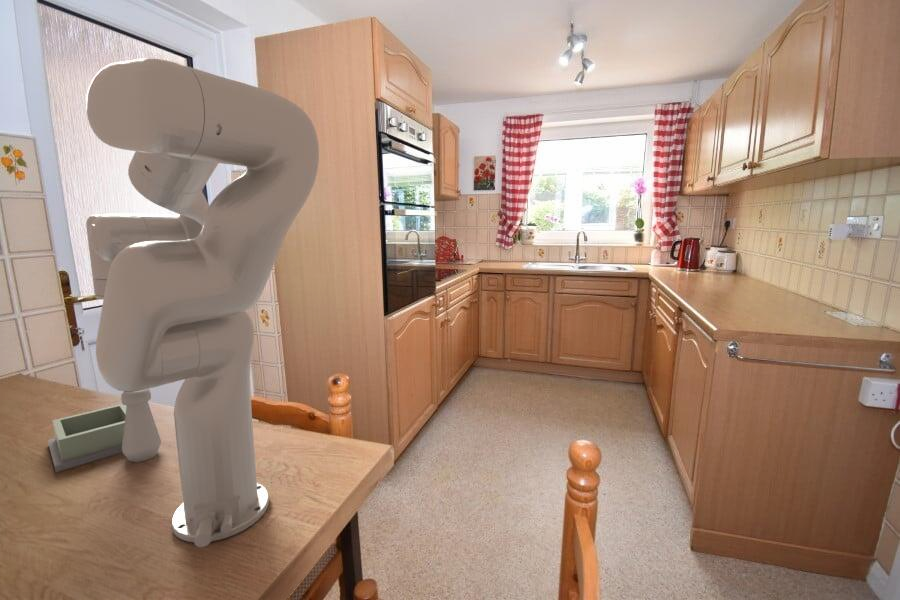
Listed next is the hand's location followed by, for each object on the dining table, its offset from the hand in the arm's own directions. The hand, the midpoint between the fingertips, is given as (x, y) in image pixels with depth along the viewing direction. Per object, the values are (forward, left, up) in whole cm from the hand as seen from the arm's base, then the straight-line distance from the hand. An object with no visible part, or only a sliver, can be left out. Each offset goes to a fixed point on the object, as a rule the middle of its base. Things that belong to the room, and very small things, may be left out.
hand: (132, 381), depth 75 cm
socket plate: (+7, +9, -14) cm, 18 cm away
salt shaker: (-1, 0, -15) cm, 15 cm away
